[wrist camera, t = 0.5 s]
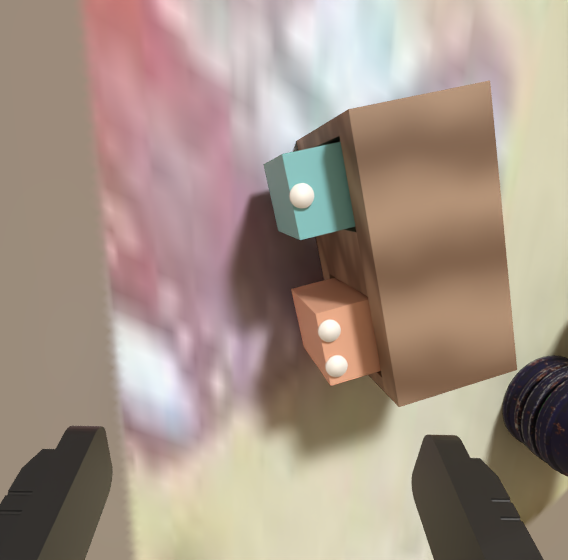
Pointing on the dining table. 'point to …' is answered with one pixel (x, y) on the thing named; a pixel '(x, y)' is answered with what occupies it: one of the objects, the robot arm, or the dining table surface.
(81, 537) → the robot arm
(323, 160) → the grey-green piece
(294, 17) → the dining table surface
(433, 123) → the walnut console
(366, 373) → the terracotta button
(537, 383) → the dark blue barrel
